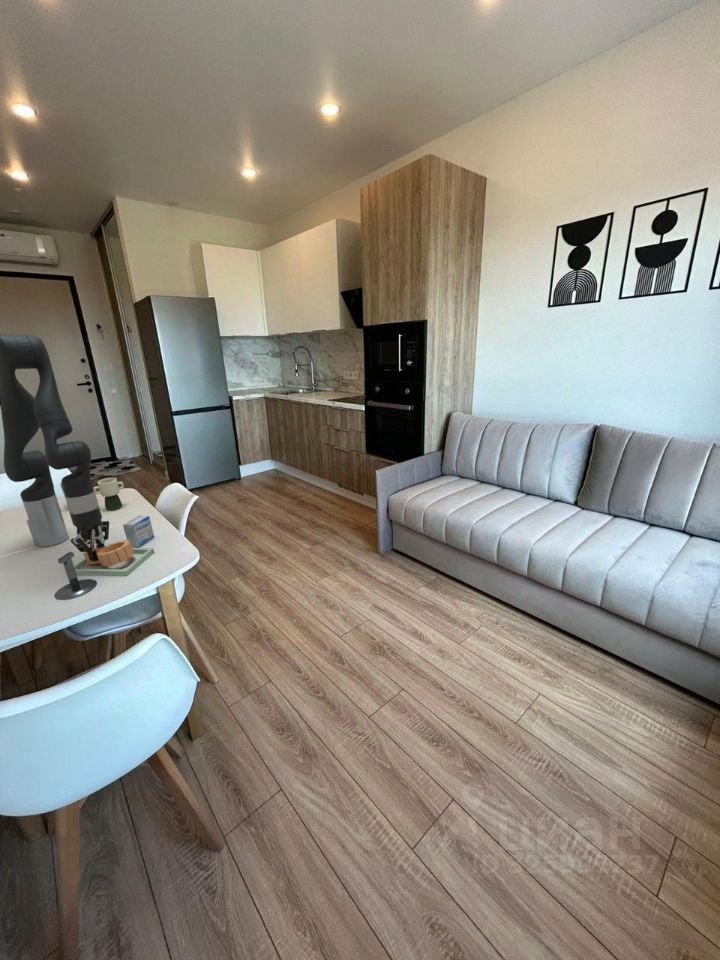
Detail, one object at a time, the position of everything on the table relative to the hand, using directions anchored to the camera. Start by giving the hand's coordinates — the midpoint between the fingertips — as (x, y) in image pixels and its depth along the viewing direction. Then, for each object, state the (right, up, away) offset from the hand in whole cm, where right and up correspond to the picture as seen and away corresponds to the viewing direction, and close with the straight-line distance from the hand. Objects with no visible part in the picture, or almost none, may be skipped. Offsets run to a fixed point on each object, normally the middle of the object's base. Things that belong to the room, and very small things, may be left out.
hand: (98, 557), depth 123 cm
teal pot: (-41, +13, +50) cm, 66 cm away
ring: (+4, 0, 0) cm, 4 cm away
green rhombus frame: (+4, -3, +1) cm, 5 cm away
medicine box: (+5, +2, +16) cm, 17 cm away
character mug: (-25, +12, +47) cm, 54 cm away
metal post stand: (+2, -7, -13) cm, 15 cm away
